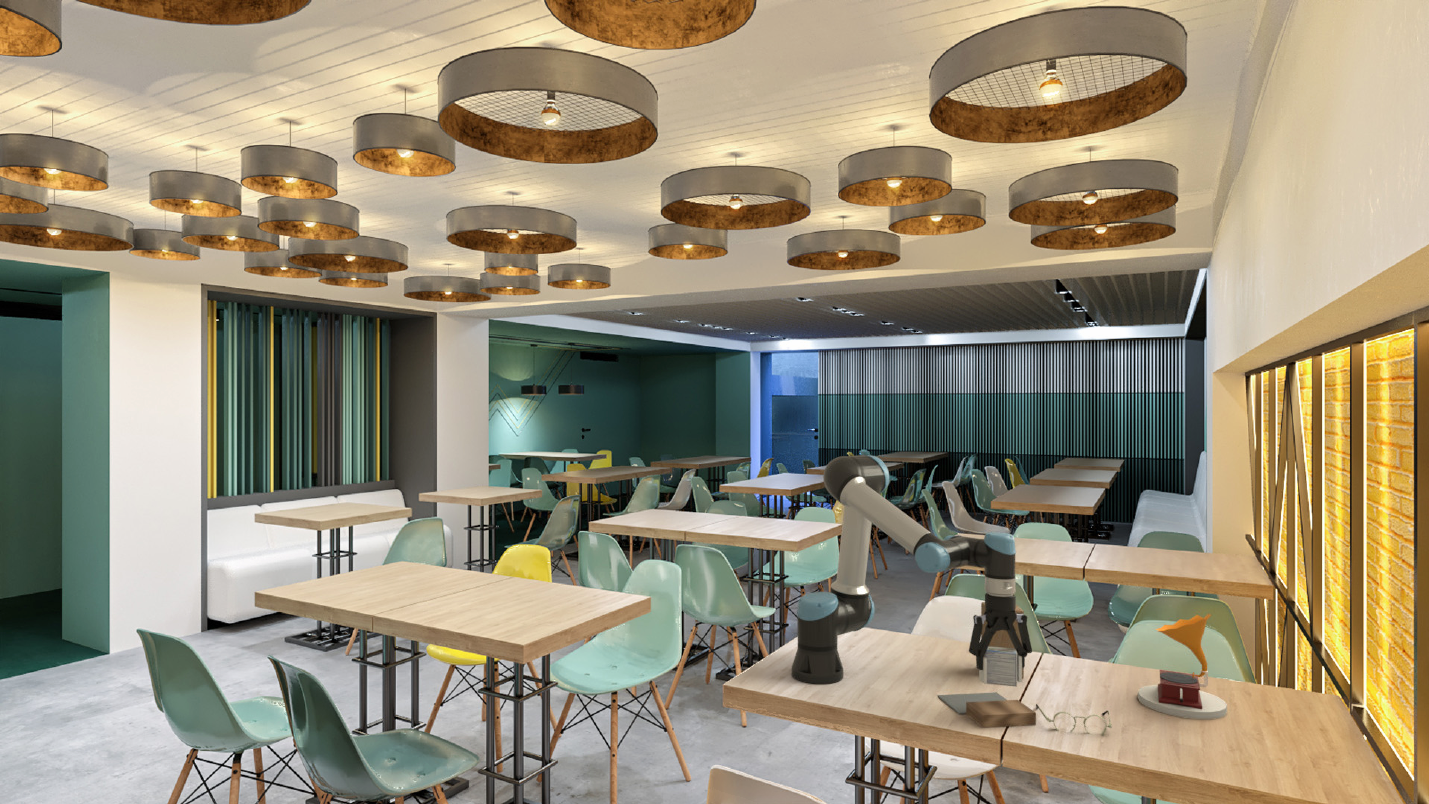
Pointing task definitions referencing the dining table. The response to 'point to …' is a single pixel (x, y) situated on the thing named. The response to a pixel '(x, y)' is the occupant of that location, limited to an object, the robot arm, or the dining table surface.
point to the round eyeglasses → (1075, 719)
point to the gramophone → (1184, 679)
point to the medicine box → (1001, 666)
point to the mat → (968, 700)
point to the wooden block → (1002, 633)
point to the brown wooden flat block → (1000, 713)
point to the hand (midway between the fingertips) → (1000, 681)
